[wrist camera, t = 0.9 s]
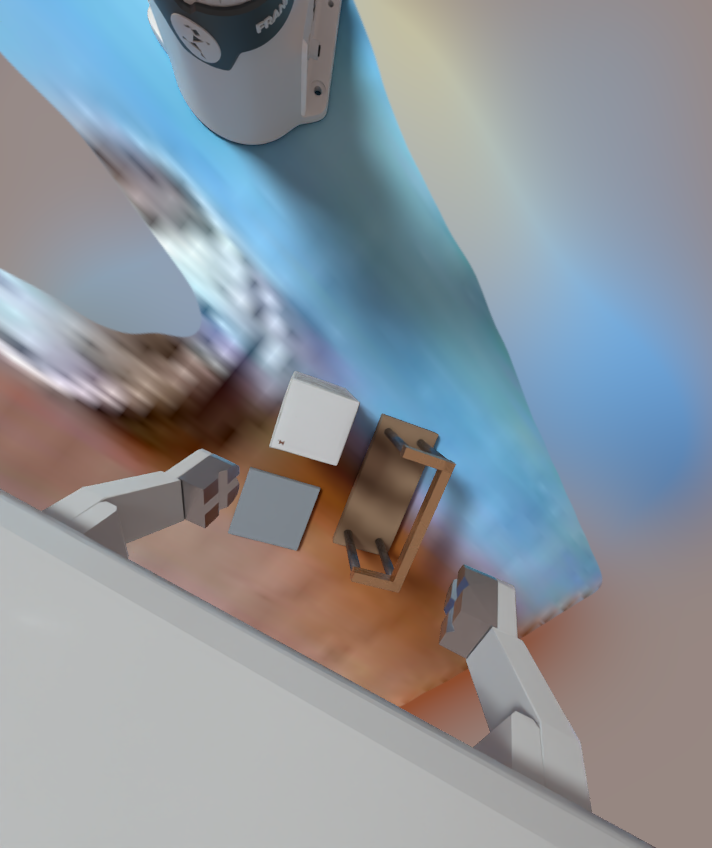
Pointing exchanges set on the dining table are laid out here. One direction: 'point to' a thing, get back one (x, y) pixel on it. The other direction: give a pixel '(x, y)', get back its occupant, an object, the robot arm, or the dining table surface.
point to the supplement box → (314, 419)
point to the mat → (273, 509)
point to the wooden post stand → (429, 505)
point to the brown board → (382, 487)
